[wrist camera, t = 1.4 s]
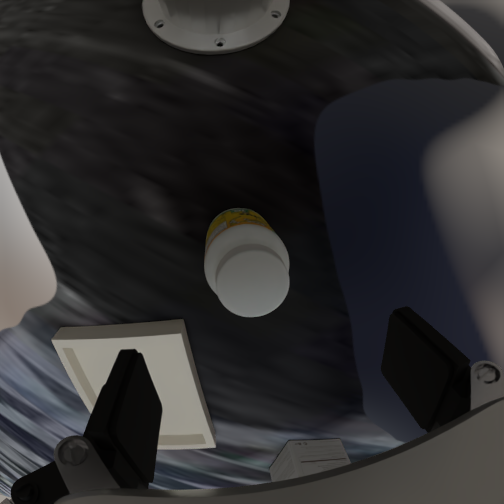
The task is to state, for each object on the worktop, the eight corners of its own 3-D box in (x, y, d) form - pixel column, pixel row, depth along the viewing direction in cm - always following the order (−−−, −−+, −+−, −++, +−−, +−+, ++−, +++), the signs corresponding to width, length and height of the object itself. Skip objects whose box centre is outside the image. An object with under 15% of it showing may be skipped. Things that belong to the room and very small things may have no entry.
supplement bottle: (194, 244, 24) (182, 295, 15) (233, 193, 23) (244, 215, 14) (244, 279, 26) (259, 342, 17) (283, 232, 25) (320, 274, 16)
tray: (60, 327, 25) (51, 339, 23) (183, 318, 26) (181, 333, 24) (116, 433, 31) (113, 446, 28) (215, 432, 32) (215, 447, 30)
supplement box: (317, 466, 38) (340, 535, 24) (267, 468, 37) (284, 545, 22) (342, 437, 36) (375, 513, 22) (288, 438, 34) (313, 527, 20)
